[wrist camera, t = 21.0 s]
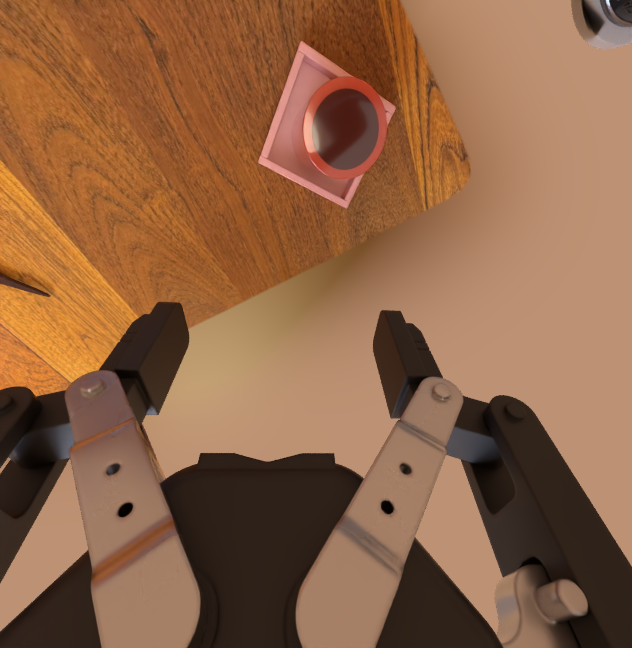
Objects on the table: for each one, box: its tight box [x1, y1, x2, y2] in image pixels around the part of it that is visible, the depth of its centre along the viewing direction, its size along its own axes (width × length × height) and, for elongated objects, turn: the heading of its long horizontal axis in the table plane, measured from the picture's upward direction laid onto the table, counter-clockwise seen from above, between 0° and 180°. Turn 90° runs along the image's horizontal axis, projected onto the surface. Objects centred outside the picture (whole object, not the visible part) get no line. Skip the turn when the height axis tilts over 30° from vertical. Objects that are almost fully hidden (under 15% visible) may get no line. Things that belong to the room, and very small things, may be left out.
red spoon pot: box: [291, 76, 387, 180], centre depth 23 cm, size 6×6×8 cm
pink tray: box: [258, 41, 396, 209], centre depth 26 cm, size 9×9×2 cm
